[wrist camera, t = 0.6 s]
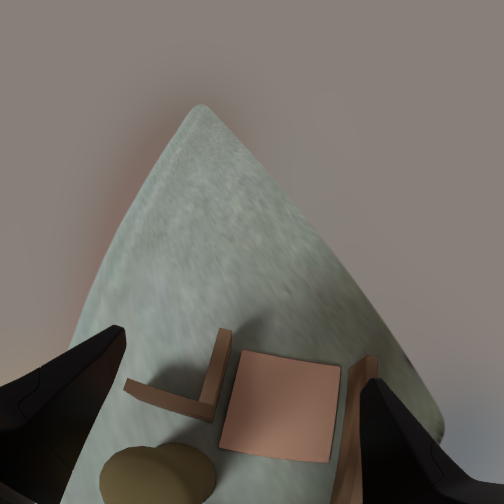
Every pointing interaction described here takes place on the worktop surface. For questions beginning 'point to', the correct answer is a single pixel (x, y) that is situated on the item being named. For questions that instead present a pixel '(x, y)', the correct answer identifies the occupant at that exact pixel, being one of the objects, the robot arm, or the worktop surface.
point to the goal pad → (282, 408)
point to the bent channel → (349, 463)
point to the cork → (157, 476)
